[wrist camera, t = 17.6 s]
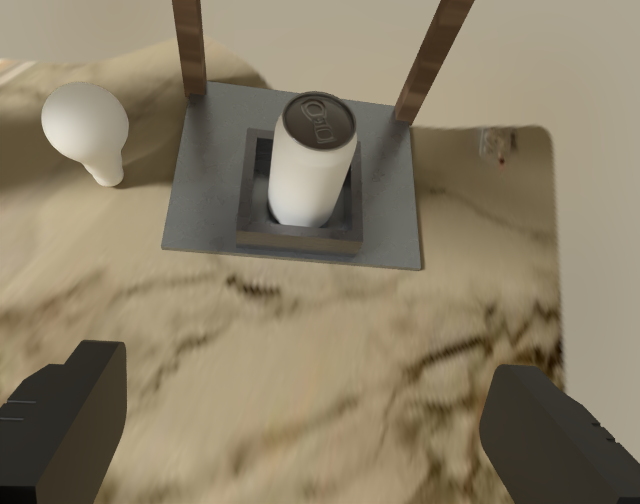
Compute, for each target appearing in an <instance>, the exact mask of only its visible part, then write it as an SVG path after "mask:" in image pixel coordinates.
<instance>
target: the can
mask: <svg viewBox="0 0 640 504" xmlns="http://www.w3.org/2000/svg"><path fill="white" fill-rule="evenodd" d="M356 129H357V122H356V118H355V115H354V113H353V111H352V110H351V108H350V107H349V106H348V105H347V104H346V103H345V102H344V101H342V100H341V99H339V98H338V97H335V96H334V95H331V94H328V93H324V92H317V91H316V92H315V91H312V92H305V93H301V94H299V95H296V96H295V97H293V98H292V99H290V100H289V101H288V103H287V104H286V105H285V107H284V109H283V113H282V114H281V115H280V117H279V118H278V121H277V123H276V127H275V133H274V141H273V150H272V159H271V168H270V178H269V188H268V207H269V210H270V212H271V214H272V215H273V217H274V218H275V219H276V220H277V221H278V222H279V223H280V224H284V225H294V226H305V227H315V228H318V227H320V226H322V225H323V224H325V223H326V222H327V221H328V219H329V218H330V216H331V214H332V212H333V210H334V207H335V204H336V202H337V199H338V196H339V194H340V191H341V188H342V185H343V183H344V180H345V177H346V174H347V172H348V169H349V166H350V163H351V161H352V158H353V155H354V152H355V149H356V144H357V133H356Z"/></svg>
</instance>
